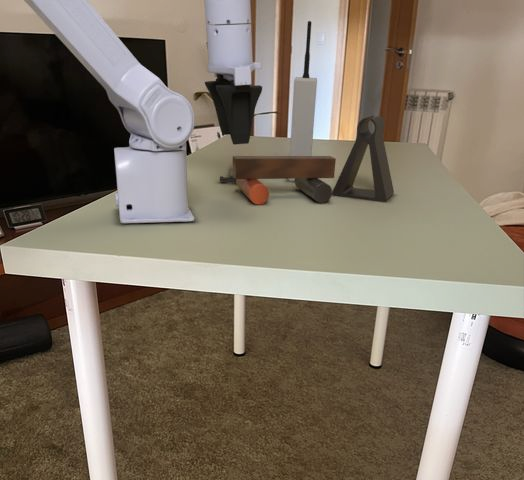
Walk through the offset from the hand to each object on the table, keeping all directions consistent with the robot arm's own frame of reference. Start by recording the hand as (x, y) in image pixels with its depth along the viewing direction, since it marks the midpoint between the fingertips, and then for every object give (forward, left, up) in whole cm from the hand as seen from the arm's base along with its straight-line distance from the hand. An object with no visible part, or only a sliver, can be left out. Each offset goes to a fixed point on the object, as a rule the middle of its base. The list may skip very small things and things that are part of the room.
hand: (234, 138), depth 77 cm
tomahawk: (+7, +26, -10) cm, 29 cm away
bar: (+9, +6, -7) cm, 13 cm away
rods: (+9, +6, -10) cm, 15 cm away
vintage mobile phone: (+16, +19, -10) cm, 27 cm away
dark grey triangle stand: (+23, +6, -10) cm, 26 cm away
